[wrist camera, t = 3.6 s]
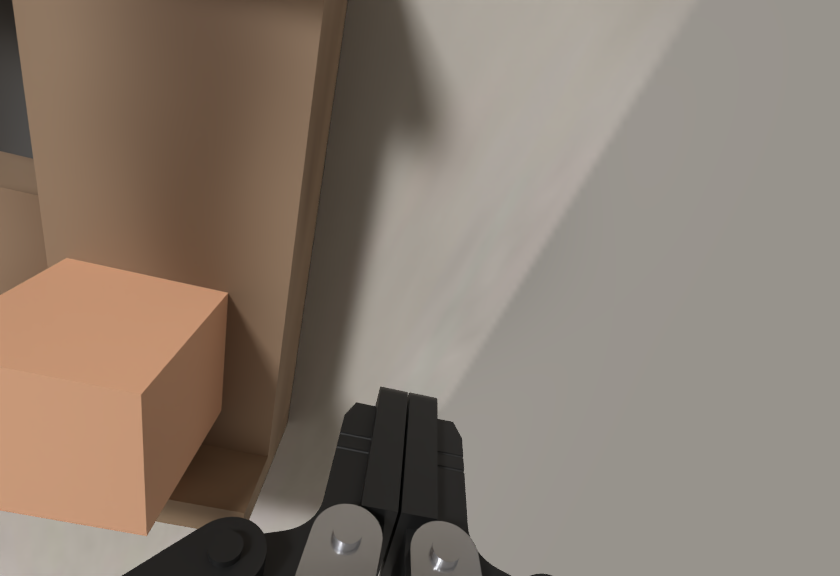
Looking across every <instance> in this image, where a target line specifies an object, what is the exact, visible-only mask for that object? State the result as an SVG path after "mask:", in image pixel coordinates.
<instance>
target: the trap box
mask: <svg viewBox="0 0 840 576" xmlns="http://www.w3.org/2000/svg"><path fill="white" fill-rule="evenodd" d="M347 2H348V0H0V295H1V294H3V293H5V292H7V291H8V290H10V289H12V288H14V287H16V286H17V285H19V284H21V283H23V282H25V281H26V280H28V279H30V278H32V277H33V276H35V275H37V274H39V273H41V272H42V271H44V270H46V269H48V268H50V267H51V266H53V265H55V264H57V263H58V262H60V261H62V260H64V259H66V258H70V259H74V260H79V261H84V262H88V263H93V264H98V265H102V266H107V267H111V268H116V269H121V270H125V271H130V272H134V273H139V274H144V275H148V276H153V277H158V278H162V279H167V280H171V281H176V282H181V283H185V284H190V285H194V286H199V287H204V288H208V289H213V290H217V291H222V292H227V293H228V306H227V323H226V340H225V357H224V374H223V391H222V408H221V412H220V414H219V415H218V417H217V419H216V421H215V422H214V424H213V426H212V427H211V429H210V431H209V432H208V434H207V436H206V437H205V439H204V441H203V442H202V444H201V446H200V447H199V449H198V451H197V452H196V454H195V456H194V457H193V459H192V461H191V462H190V464H189V466H188V468H187V469H186V471H185V473H184V474H183V476H182V478H181V479H180V481H179V483H178V484H177V486H176V488H175V489H174V491H173V493H172V494H171V496H170V498H169V499H168V501H167V503H166V504H165V506H164V508H163V509H162V511H161V513H160V515H159V516H158V518H157V520H156V521H157V522H162V523H168V524H174V525H179V526H185V527H191V528H196V529H199V528H200V527H202V526H204V525H205V524H207V523H209V522H211V521H214V520H216V519H219V518H224V517H240V518H245V519H247V520H249V519H250V516H251V514H252V511H253V509H254V506H255V504H256V501H257V498H258V496H259V493H260V491H261V488H262V486H263V483H264V481H265V478H266V476H267V473H268V471H269V468H270V466H271V463H272V461H273V458H274V456H275V453H276V451H277V448H278V446H279V443H280V441H281V438H282V436H283V433H284V431H285V428H286V426H287V422H288V415H289V408H290V401H291V394H292V387H293V380H294V373H295V366H296V359H297V352H298V345H299V338H300V331H301V324H302V317H303V310H304V303H305V296H306V289H307V282H308V275H309V268H310V261H311V254H312V247H313V240H314V233H315V226H316V219H317V212H318V205H319V198H320V191H321V184H322V177H323V170H324V163H325V156H326V149H327V142H328V135H329V128H330V121H331V114H332V107H333V100H334V93H335V86H336V79H337V72H338V65H339V58H340V51H341V44H342V37H343V30H344V23H345V16H346V9H347Z"/></svg>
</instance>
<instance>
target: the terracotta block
mask: <svg viewBox="0 0 840 576" xmlns="http://www.w3.org/2000/svg"><path fill="white" fill-rule="evenodd" d="M227 306H228V293H227V292H222V291H217V290H213V289H208V288H204V287H199V286H194V285H190V284H185V283H181V282H176V281H171V280H167V279H162V278H158V277H153V276H148V275H144V274H139V273H134V272H130V271H125V270H121V269H116V268H111V267H107V266H102V265H98V264H93V263H88V262H84V261H79V260H74V259H70V258H66V259H64V260H62V261H60V262H58V263H57V264H55V265H53V266H51V267H50V268H48V269H46V270H44V271H42V272H41V273H39V274H37V275H35V276H33V277H32V278H30V279H28V280H26V281H25V282H23V283H21V284H19V285H17V286H16V287H14V288H12V289H10V290H8V291H7V292H5V293H3V294H1V295H0V510H1V511H7V512H12V513H18V514H24V515H30V516H35V517H41V518H47V519H53V520H58V521H64V522H70V523H75V524H81V525H87V526H93V527H98V528H104V529H110V530H115V531H121V532H127V533H133V534H138V535H144V536H147V535H148V533H149V531H150V530H151V528H152V526H153V525H154V523H155V521H156V520H157V518H158V516H159V515H160V513H161V511H162V509H163V508H164V506H165V504H166V503H167V501H168V499H169V498H170V496H171V494H172V493H173V491H174V489H175V488H176V486H177V484H178V483H179V481H180V479H181V478H182V476H183V474H184V473H185V471H186V469H187V468H188V466H189V464H190V462H191V461H192V459H193V457H194V456H195V454H196V452H197V451H198V449H199V447H200V446H201V444H202V442H203V441H204V439H205V437H206V436H207V434H208V432H209V431H210V429H211V427H212V426H213V424H214V422H215V421H216V419H217V417H218V415H219V414H220V412H221V408H222V391H223V374H224V357H225V340H226V323H227Z"/></svg>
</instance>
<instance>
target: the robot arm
mask: <svg viewBox="0 0 840 576" xmlns="http://www.w3.org/2000/svg"><path fill="white" fill-rule="evenodd" d="M463 472H464V463H463V449H462V438H461V436H460V434H459V432H458V430H457V429H456V427H455V425H454V423H453V422H450V421H445V420H440V419H437V398H434V397H429V396H424V395H419V394H414V393H409V395H408V392H404V391H399V390H394V389H389V388H385V387H380V390H379V394H378V398H377V402H376V406H371V405H366V404H361V403H355V405H354V406H353V407H352V408H351V409H350V410H349V411H348V412H347V413H346V414H345V416H344V420H343V424H342V428H341V432H340V436H339V440H338V444H337V448H336V452H335V456H334V460H333V463H332V467H331V471H330V475H329V479H328V483H327V487H326V491H325V495H324V499H323V502H322V505H321V507H320V509H319V511H318V512H317V513H316V514H315V516H314V517H312V518H311V519H310V520H309V521H308V522H306V523H305V524H303V525H301V526H299V527H297V528H294V529H291V530H286V531H279V532H272V533H265V534H264V533H263V532H262V530H261V529H260V528H259V527H258V526H257V525H256V524H255V523H253V522H252V521H250V520H247V519H245V518H240V517H224V518H219V519H216V520H214V521H211V522H209V523H207V524H205V525H204V526H202V527H200V528H199V529H197V530H195V531H194V532H192V533H191V534H189V535H187V536H186V537H184V538H182V539H181V540H179V541H178V542H176V543H174V544H173V545H171V546H169V547H168V548H166V549H165V550H163V551H161V552H160V553H158V554H156V555H155V556H153V557H152V558H150V559H148V560H147V561H145V562H143V563H142V564H140V565H139V566H137V567H135V568H134V569H132V570H130V571H129V572H127V573H126V574H124V575H122V576H378V574H379V571H380V575H379V576H511V575H508V574H507V573H505V572H503V571H501V570H499V569H497V568H496V567H494V566H492V565H491V564H490V563H489V562H487V561H486V560H485V559H484V558H483V557H482V556H481V555H480V554H479V552H478V551H477V549H476V546H475V544H474V542H473V541H472V539H471V538H470V535H469V532H468V524H467V509H466V495H465V494H466V493H465V478H464V473H463ZM531 576H551V575H548V574H535V575H531Z"/></svg>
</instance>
